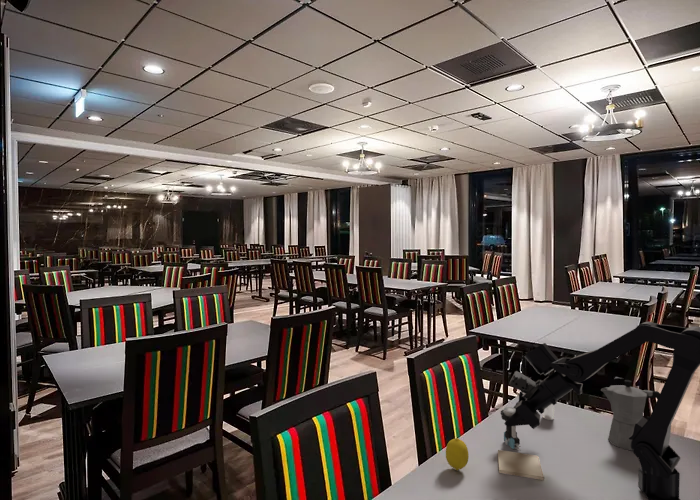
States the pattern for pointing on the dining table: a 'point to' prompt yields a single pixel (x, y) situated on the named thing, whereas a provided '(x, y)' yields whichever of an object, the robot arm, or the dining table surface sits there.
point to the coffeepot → (626, 411)
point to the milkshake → (549, 412)
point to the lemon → (457, 454)
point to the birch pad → (520, 464)
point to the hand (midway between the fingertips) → (506, 420)
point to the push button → (510, 429)
